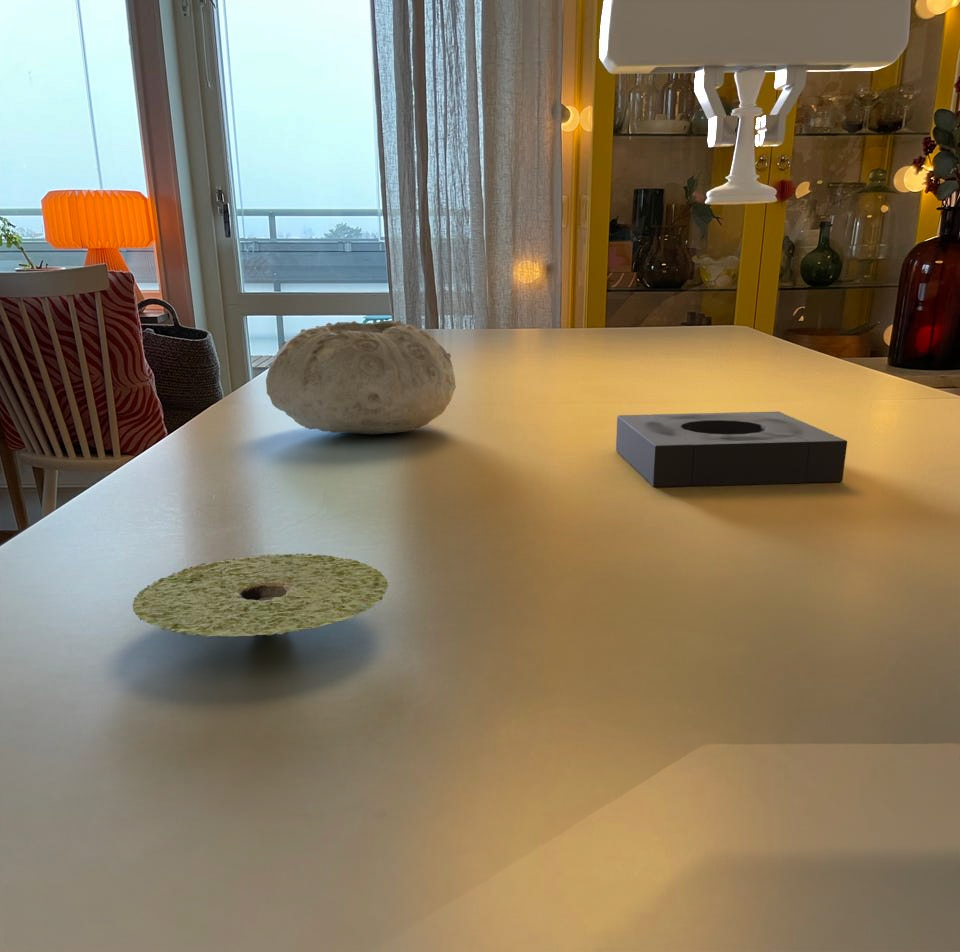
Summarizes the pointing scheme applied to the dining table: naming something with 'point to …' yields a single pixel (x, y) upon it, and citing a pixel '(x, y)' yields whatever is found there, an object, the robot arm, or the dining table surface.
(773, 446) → the grey block with hole
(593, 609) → the dining table surface
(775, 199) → the chess piece
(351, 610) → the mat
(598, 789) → the dining table surface
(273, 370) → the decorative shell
